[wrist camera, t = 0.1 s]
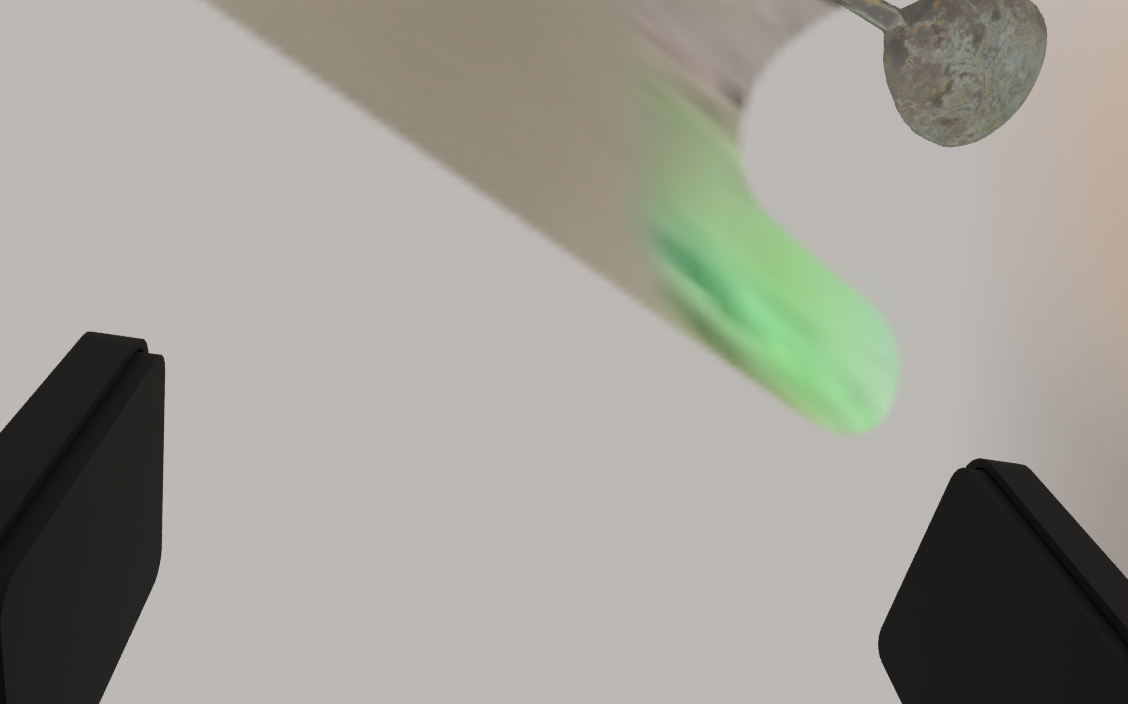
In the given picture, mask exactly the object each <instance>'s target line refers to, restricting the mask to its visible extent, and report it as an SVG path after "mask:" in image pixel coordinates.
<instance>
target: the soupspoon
mask: <svg viewBox="0 0 1128 704" xmlns="http://www.w3.org/2000/svg"><path fill="white" fill-rule="evenodd" d="M835 1H836V2H838V3H839V4H841V5H842V6H844V7H845V8H847V9H849V10H850V11H852V12H853V13H855V14H857V15H858V16H860V17H862V18H863V19H865V20H866V21H868V22H869V23H871V24H873V25H874V26H876V27H878V28H879V29H881V30H882V31H883V32H884V56H883V61H884V69H885V75H886V81H887V84H888V87H889V90H890V92H891V95H892V97H893V100H894V102H895V105H896V108H897V110H898V112H899V113H900V115H901V117H902V118H903V120H904V122H905V123H907V125H909V126H910V128H911V130H913V132H915V133H916V134H917V135H919V136H921V137H923V138H925V139H927V140H929V141H931V142H933V143H936V144H938V145H941V146H943V147H956V146H963V145H967V144H970V143H973V142H977V141H979V140H981V139H983V138H985V137H987V136H988V135H990V134H991V133H993V132H994V131H995V130H997V129H998V128H1000V127H1001V126H1002V125H1003V124H1005V123H1006V122H1007V121H1008V120H1009V119H1010V118H1011V117H1012V116H1013V115H1014V114H1015V113H1016V111H1017V110H1018V109H1019V108H1020V107H1021V106H1022V104H1023V103H1024V101H1025V100H1026V98H1027V96H1028V95H1029V93H1030V92H1031V90H1032V88H1033V86H1034V84H1035V82H1036V80H1037V78H1038V76H1039V73H1040V70H1041V68H1042V64H1043V61H1044V57H1045V52H1046V45H1047V29H1046V25H1045V20H1044V18H1043V16H1042V14H1041V13H1040V11H1039V9H1038V8H1037V6H1036V5H1034V4H1033V3H1032V2H1031V1H1030V0H919V1H917V2H915V3H913V4H911V5H909V6H907V7H905V8H903V9H899V8H897V7H896V6H893V5H891V4H889V3H887V2H886V1H883V0H835Z"/></svg>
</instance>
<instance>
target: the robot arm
mask: <svg viewBox="0 0 1128 704" xmlns="http://www.w3.org/2000/svg"><path fill="white" fill-rule="evenodd" d="M164 397H165V362H164V357H163V356H162V355H158V354H151V353H148V347H147V343H146V341H145V340H144V339H139V338H132V337H125V336H118V335H111V334H104V333H97V332H86V333H85V334H84V335H83V336H82V337H81V338H80V339H79V341H78V342H77V343H76V344H75V345H74V347H73V348H72V349H71V350H70V351H69V352H68V354H67V355H66V356H65V357H64V358H63V359H62V361H61V362H60V363H59V364H58V365H57V367H56V368H55V369H54V370H53V371H52V372H51V374H50V375H49V376H48V377H47V378H46V379H45V381H44V382H43V383H42V384H41V385H40V387H39V388H38V389H37V390H36V392H35V393H34V394H33V395H32V396H31V397H30V398H29V400H28V401H27V402H26V403H25V404H24V405H23V407H22V408H21V409H20V410H19V411H18V413H17V414H16V415H15V416H14V417H13V418H12V420H11V421H10V422H9V423H8V425H6V427H5V428H4V429H3V430H2V431H1V432H0V704H99V702H100V700H101V698H102V696H103V694H104V692H105V689H106V687H107V685H108V683H109V681H110V679H111V676H112V674H113V672H114V670H115V668H116V666H117V663H118V661H119V659H120V657H121V655H122V653H123V650H124V648H125V646H126V644H127V642H128V640H129V637H130V635H131V633H132V631H133V629H134V626H135V624H136V622H137V620H138V618H139V616H140V614H141V611H142V609H143V607H144V605H145V603H146V601H147V598H148V596H149V594H150V592H151V590H152V587H153V585H154V583H155V580H156V577H157V574H158V570H159V565H160V560H161V550H162V501H163V452H164V399H165V398H164ZM878 649H879V655H880V658H881V661H882V663H883V665H884V668H885V670H886V672H887V674H888V676H889V678H890V680H891V682H892V684H893V686H894V688H895V690H896V692H897V694H898V696H899V698H900V700H901V702H902V704H1128V579H1127V578H1126V577H1125V576H1124V575H1123V574H1122V572H1121V571H1120V570H1119V569H1118V568H1117V567H1116V565H1115V564H1114V563H1113V562H1112V561H1111V560H1110V559H1109V558H1108V557H1107V555H1106V554H1105V553H1104V552H1103V551H1102V550H1101V549H1100V547H1099V546H1098V545H1097V544H1096V543H1095V542H1094V541H1093V540H1092V538H1091V537H1090V536H1089V535H1088V534H1087V533H1086V532H1085V530H1084V529H1083V528H1082V527H1081V526H1080V525H1079V524H1078V523H1077V522H1076V520H1075V519H1074V518H1073V517H1072V516H1071V515H1070V513H1069V512H1068V511H1067V510H1066V509H1065V508H1064V507H1063V506H1062V504H1061V503H1060V502H1059V501H1058V500H1057V499H1056V498H1055V497H1054V496H1053V494H1052V493H1051V492H1050V491H1049V490H1048V489H1047V487H1046V486H1045V485H1044V484H1043V483H1042V482H1041V481H1040V480H1039V479H1038V477H1037V476H1036V475H1035V474H1034V473H1033V472H1032V471H1031V470H1030V469H1029V468H1028V467H1027V466H1025V465H1021V464H1016V463H1009V462H1001V461H994V460H988V459H981V458H979V459H976V460H973V461H972V462H970V463H969V464H968V465H967V466H966V468H961V469H958V470H957V471H956V472H955V473H954V474H953V476H952V477H951V479H950V481H949V484H948V485H947V488H946V490H945V492H944V494H943V496H942V498H941V501H940V503H939V505H938V507H937V509H936V511H935V513H934V516H933V518H932V520H931V522H930V524H929V526H928V529H927V531H926V533H925V535H924V537H923V539H922V542H921V544H920V546H919V548H918V550H917V553H916V554H915V557H914V559H913V561H912V563H911V565H910V568H909V569H908V572H907V574H906V576H905V578H904V580H903V582H902V585H901V587H900V589H899V591H898V593H897V595H896V598H895V600H894V602H893V604H892V606H891V608H890V610H889V613H888V615H887V617H886V619H885V622H884V623H883V626H882V628H881V631H880V634H879V641H878Z"/></svg>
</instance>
